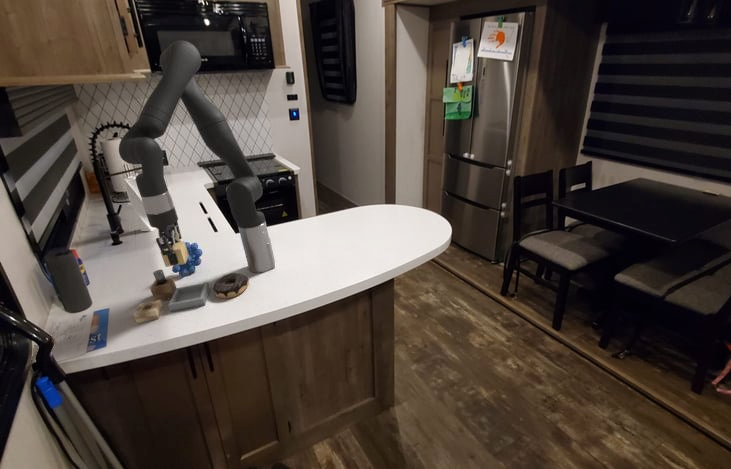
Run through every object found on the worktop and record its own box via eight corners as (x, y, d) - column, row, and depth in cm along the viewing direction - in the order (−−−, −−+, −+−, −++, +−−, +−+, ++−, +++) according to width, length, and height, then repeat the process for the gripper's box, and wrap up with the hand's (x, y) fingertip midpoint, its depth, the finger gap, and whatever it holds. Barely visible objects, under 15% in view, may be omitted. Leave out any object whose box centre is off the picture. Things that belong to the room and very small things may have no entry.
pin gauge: (172, 292, 125) (163, 268, 121) (170, 296, 122) (161, 273, 119) (163, 293, 124) (154, 270, 121) (161, 298, 122) (152, 274, 118)
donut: (253, 279, 128) (250, 269, 127) (244, 298, 118) (241, 288, 116) (221, 282, 128) (218, 272, 127) (209, 302, 118) (205, 291, 116)
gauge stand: (163, 307, 117) (160, 299, 115) (158, 318, 111) (155, 310, 110) (143, 311, 116) (139, 303, 114) (136, 323, 110) (133, 314, 109)
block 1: (188, 255, 117) (184, 241, 115) (185, 263, 112) (180, 248, 110) (170, 258, 116) (165, 244, 114) (165, 266, 111) (160, 252, 109)
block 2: (177, 289, 126) (172, 276, 124) (173, 298, 121) (168, 285, 119) (159, 292, 125) (155, 280, 123) (155, 301, 120) (150, 288, 118)
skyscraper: (162, 225, 184) (143, 170, 172) (153, 232, 177) (132, 175, 165) (147, 226, 185) (127, 171, 173) (138, 232, 178) (116, 176, 166)
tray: (209, 288, 125) (207, 282, 124) (205, 305, 116) (202, 298, 115) (178, 294, 123) (176, 288, 122) (171, 312, 114) (168, 305, 113)
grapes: (201, 263, 142) (193, 235, 138) (209, 268, 138) (200, 239, 133) (171, 276, 135) (160, 246, 130) (178, 282, 131) (167, 251, 126)
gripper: (153, 202, 113) (170, 251, 120) (137, 219, 100) (157, 273, 107) (179, 198, 114) (194, 247, 121) (166, 214, 101) (184, 268, 108)
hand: (177, 259), depth 114 cm, fingers closed on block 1, 5 cm apart
